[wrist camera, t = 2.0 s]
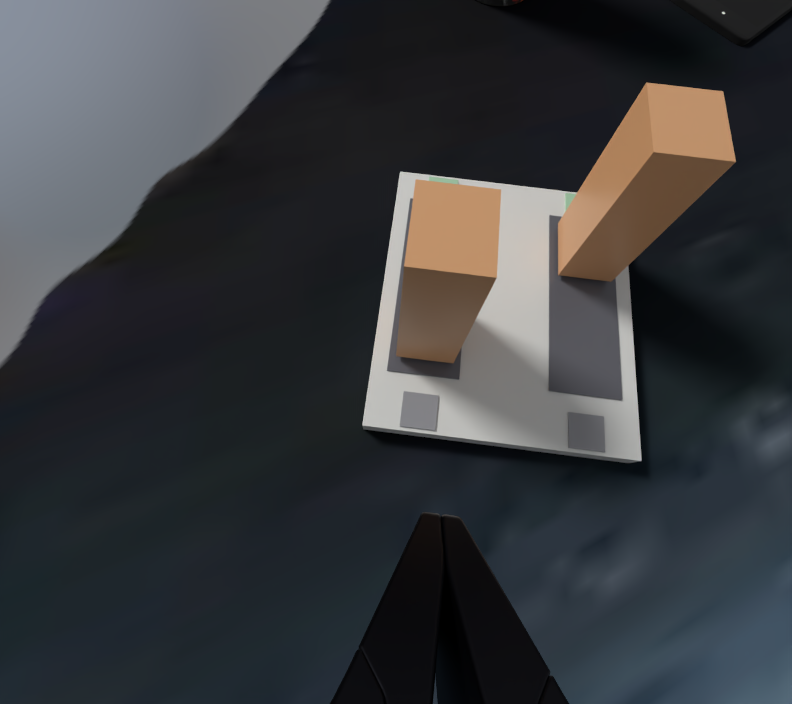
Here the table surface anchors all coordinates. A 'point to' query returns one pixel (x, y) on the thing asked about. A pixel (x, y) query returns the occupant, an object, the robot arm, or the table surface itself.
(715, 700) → the table surface
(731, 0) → the cell phone
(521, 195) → the switch bank
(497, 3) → the deodorant
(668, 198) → the tab
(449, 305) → the tab
